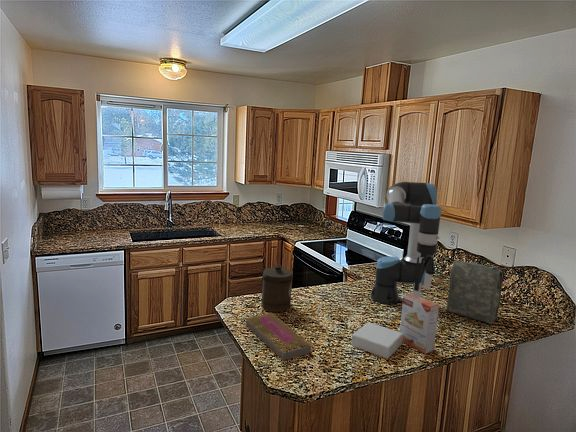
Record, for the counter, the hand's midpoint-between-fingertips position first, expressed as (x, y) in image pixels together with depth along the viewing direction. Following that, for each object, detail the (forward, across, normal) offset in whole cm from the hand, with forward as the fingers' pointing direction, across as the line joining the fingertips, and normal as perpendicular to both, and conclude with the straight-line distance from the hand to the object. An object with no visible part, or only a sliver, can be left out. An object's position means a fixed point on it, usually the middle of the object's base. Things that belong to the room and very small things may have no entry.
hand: (421, 293), depth 162 cm
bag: (+23, +52, -11) cm, 58 cm away
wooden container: (+24, -8, +69) cm, 73 cm away
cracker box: (+24, 0, 0) cm, 24 cm away
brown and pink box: (+24, -34, +48) cm, 64 cm away
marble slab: (+24, -10, +13) cm, 29 cm away
